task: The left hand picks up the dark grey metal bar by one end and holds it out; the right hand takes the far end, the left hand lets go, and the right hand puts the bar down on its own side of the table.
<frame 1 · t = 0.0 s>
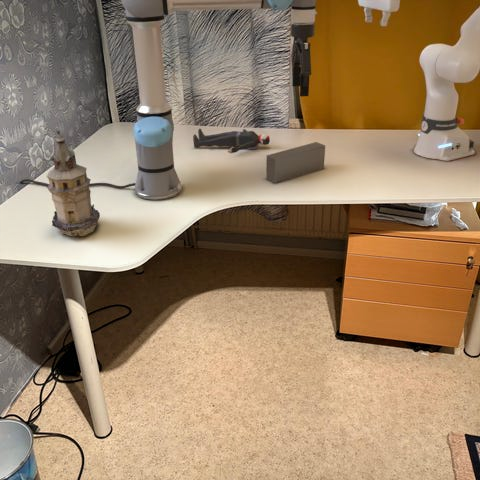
left hand: (300, 91, 180), 28 cm above the table, tool pointing down, fingers open, 13 cm apart
right hand: (375, 24, 175), 48 cm above the table, tool pointing down, fingers open, 8 cm apart
toy: (232, 146, 215), on the table
bar: (295, 173, 190), on the table
miniature building: (78, 229, 156), on the table
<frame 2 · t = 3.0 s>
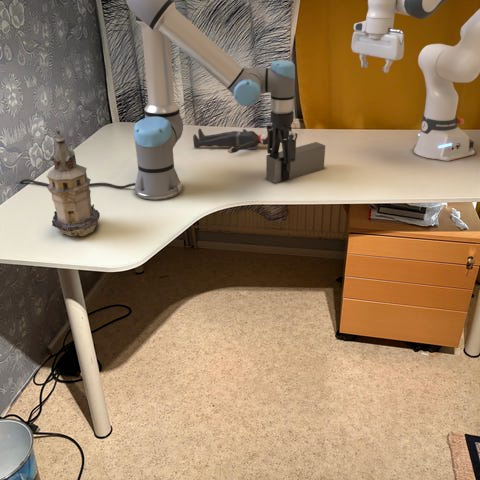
left hand: (280, 176, 186), 1 cm above the table, tool pointing down, fingers closed on bar, 5 cm apart
right hand: (374, 69, 182), 33 cm above the table, tool pointing down, fingers open, 8 cm apart
bar: (295, 173, 190), on the table, touching left hand
everything else where it was.
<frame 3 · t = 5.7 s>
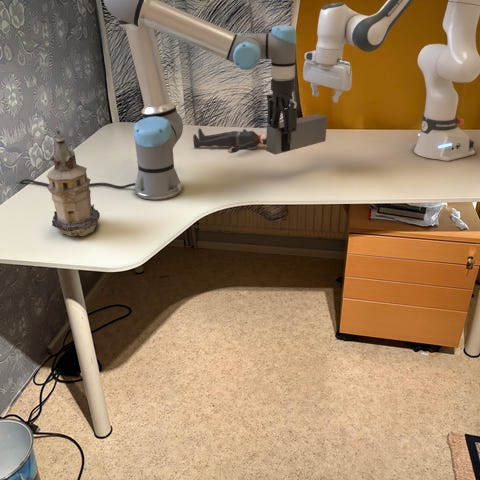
left hand: (280, 148, 181), 11 cm above the table, tool pointing down, fingers closed on bar, 5 cm apart
right hand: (325, 99, 182), 25 cm above the table, tool pointing down, fingers open, 8 cm apart
bar: (296, 145, 185), point 10 cm above the table, touching left hand
everything else where it was.
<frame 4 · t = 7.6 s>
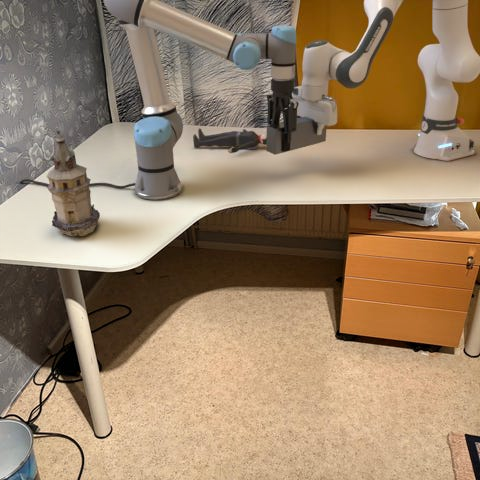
left hand: (281, 148, 181), 11 cm above the table, tool pointing down, fingers closed on bar, 5 cm apart
right hand: (312, 132, 186), 14 cm above the table, tool pointing down, fingers closed on bar, 5 cm apart
bar: (296, 146, 185), point 10 cm above the table, touching left hand, right hand
everything else where it was.
when the left hand's fingers open (11 cm above the table, at t = 8.4 s): bar stays where it is, held by the right hand.
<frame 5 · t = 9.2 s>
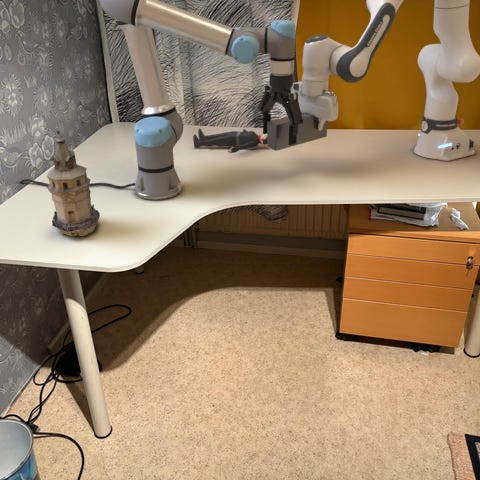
left hand: (279, 138, 179), 14 cm above the table, tool pointing down, fingers open, 13 cm apart
right hand: (313, 127, 186), 15 cm above the table, tool pointing down, fingers closed on bar, 5 cm apart
bar: (297, 141, 184), point 12 cm above the table, touching right hand
everything else where it was.
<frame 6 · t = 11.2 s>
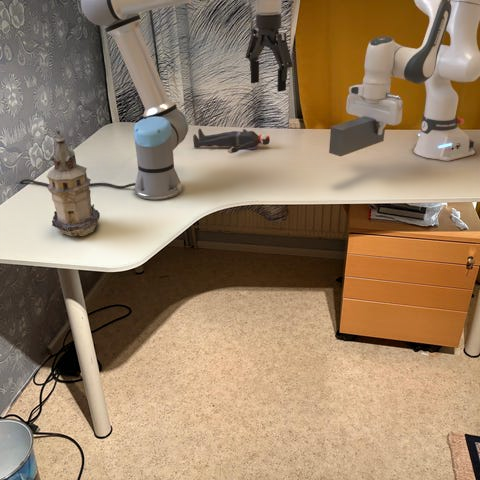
left hand: (267, 86, 167), 32 cm above the table, tool pointing down, fingers open, 13 cm apart
right hand: (371, 132, 180), 16 cm above the table, tool pointing down, fingers closed on bar, 5 cm apart
bar: (356, 146, 178), point 12 cm above the table, touching right hand
everything else where it was.
when the right hand's fingers open (5 cm above the table, at t = 12.6 s): bar drops 2 cm, on the table.
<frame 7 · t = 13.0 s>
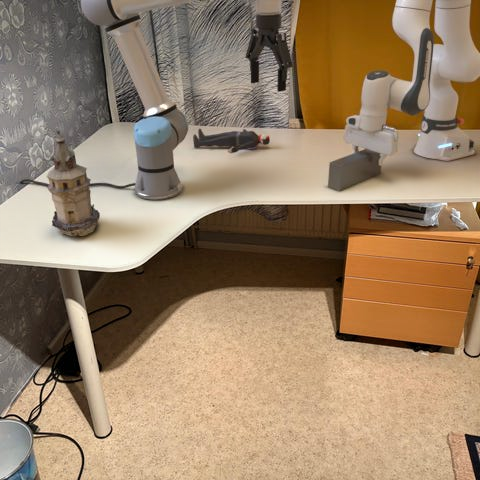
left hand: (267, 86, 167), 32 cm above the table, tool pointing down, fingers open, 13 cm apart
right hand: (368, 161, 185), 5 cm above the table, tool pointing down, fingers open, 8 cm apart
bar: (354, 180, 184), on the table
everything else where it was.
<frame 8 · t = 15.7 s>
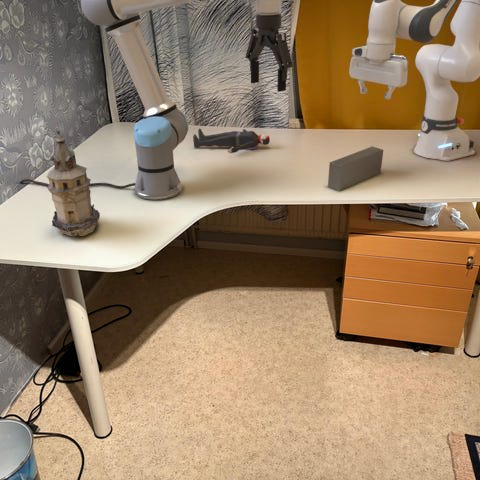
left hand: (267, 86, 167), 32 cm above the table, tool pointing down, fingers open, 13 cm apart
right hand: (375, 96, 174), 28 cm above the table, tool pointing down, fingers open, 8 cm apart
nothing on the table moved.
at the end: bar inside the target area (6.6 cm from its centre), on the table; the left hand is holding nothing; the right hand is holding nothing; bar at rest at the end (0.0 cm/s) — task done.
